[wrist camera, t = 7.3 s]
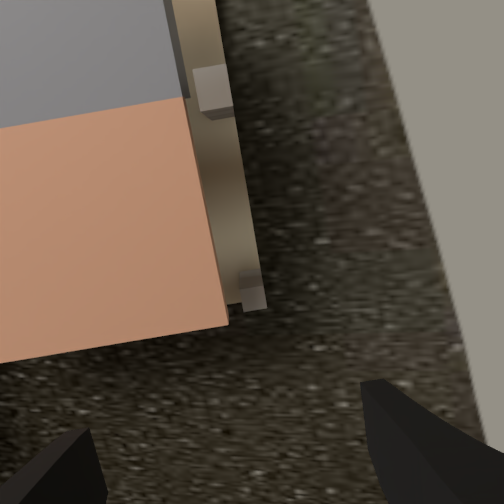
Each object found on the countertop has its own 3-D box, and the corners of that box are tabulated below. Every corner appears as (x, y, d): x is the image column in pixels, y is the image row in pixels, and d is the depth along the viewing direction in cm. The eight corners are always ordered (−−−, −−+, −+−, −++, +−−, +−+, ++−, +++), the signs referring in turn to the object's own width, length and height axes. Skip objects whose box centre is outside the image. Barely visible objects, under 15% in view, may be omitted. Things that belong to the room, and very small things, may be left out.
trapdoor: (228, 292, 19) (228, 324, 16) (-45, 338, 19) (-92, 378, 17) (160, -58, 15) (144, -94, 12) (-187, 5, 15) (-282, -18, 12)
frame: (264, 295, 22) (275, 358, 15) (-38, 346, 22) (-149, 429, 16) (206, -51, 18) (189, -154, 12) (-156, 13, 18) (-364, -54, 12)
